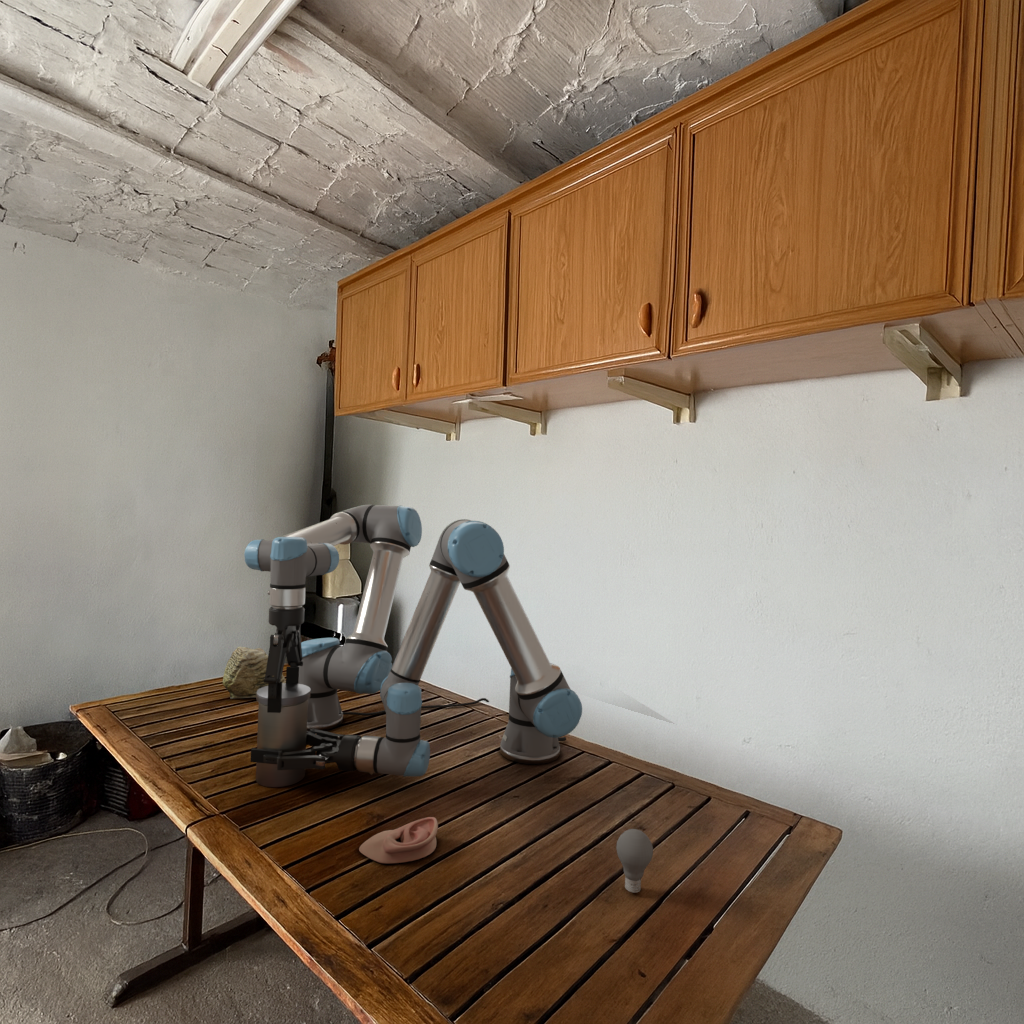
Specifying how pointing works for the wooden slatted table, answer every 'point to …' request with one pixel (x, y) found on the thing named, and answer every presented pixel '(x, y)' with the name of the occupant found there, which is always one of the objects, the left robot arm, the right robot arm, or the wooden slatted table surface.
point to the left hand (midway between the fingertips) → (283, 703)
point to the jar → (281, 741)
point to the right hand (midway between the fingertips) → (264, 745)
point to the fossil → (246, 672)
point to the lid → (286, 694)
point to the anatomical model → (403, 842)
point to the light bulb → (634, 857)
